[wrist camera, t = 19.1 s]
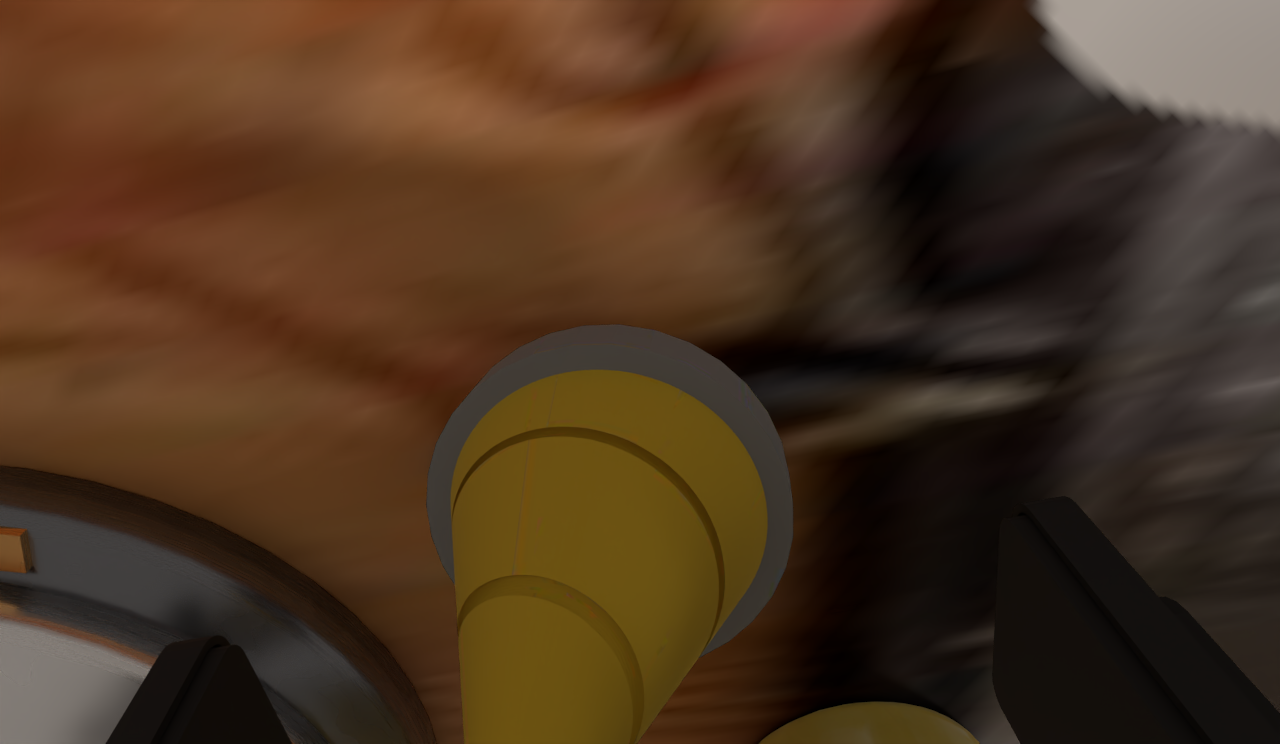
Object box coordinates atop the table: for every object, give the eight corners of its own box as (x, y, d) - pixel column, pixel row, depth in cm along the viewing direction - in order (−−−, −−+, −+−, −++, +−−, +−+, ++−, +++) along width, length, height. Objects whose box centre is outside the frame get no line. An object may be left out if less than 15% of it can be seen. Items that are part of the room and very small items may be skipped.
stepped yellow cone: (665, 591, 17) (578, 1245, 7) (444, 439, 16) (42, 943, 7) (841, 396, 15) (1020, 931, 6) (600, 218, 14) (350, 482, 5)
